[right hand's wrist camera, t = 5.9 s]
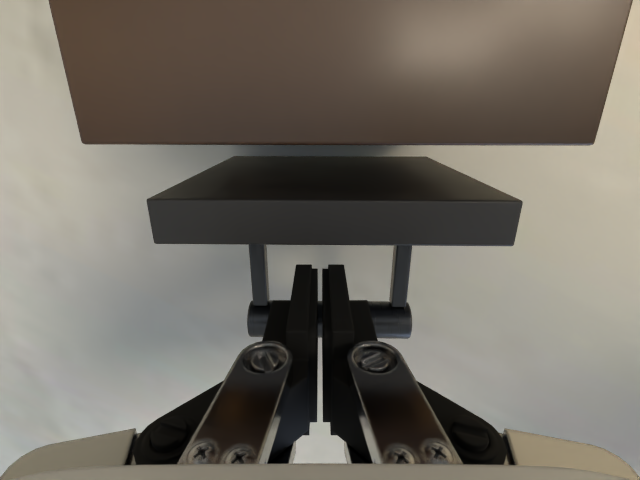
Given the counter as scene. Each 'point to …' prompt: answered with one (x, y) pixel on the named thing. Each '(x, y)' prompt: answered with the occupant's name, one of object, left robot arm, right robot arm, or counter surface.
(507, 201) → the drawer
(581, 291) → the counter surface
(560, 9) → the cabinet
